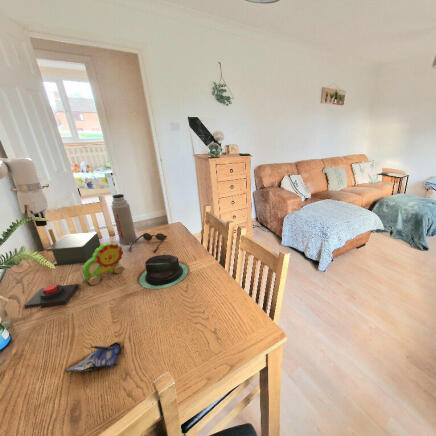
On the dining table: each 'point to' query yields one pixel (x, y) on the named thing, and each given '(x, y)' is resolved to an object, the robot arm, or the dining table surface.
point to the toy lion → (103, 262)
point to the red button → (50, 289)
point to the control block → (53, 297)
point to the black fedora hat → (162, 272)
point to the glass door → (52, 236)
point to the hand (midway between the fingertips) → (41, 225)
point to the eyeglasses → (149, 237)
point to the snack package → (98, 358)
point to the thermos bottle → (123, 220)
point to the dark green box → (74, 248)
